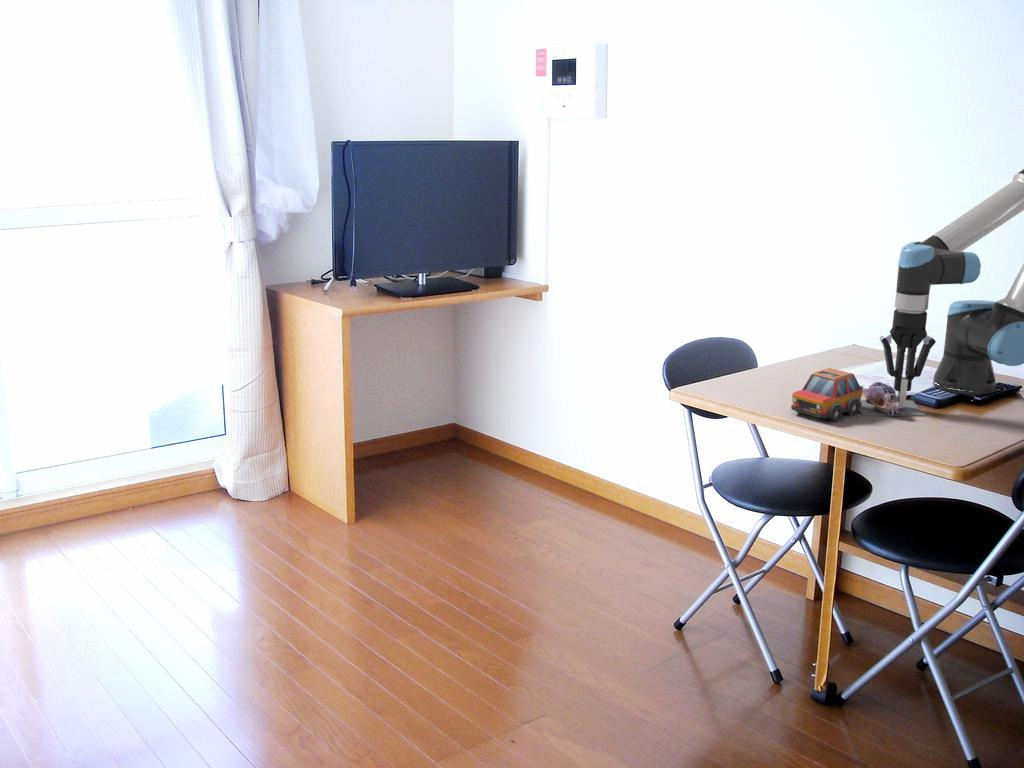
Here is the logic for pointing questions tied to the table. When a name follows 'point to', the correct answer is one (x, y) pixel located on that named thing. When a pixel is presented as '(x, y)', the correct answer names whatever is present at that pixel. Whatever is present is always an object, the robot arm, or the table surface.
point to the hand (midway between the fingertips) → (900, 403)
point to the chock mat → (909, 410)
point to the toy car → (829, 395)
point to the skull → (884, 398)
